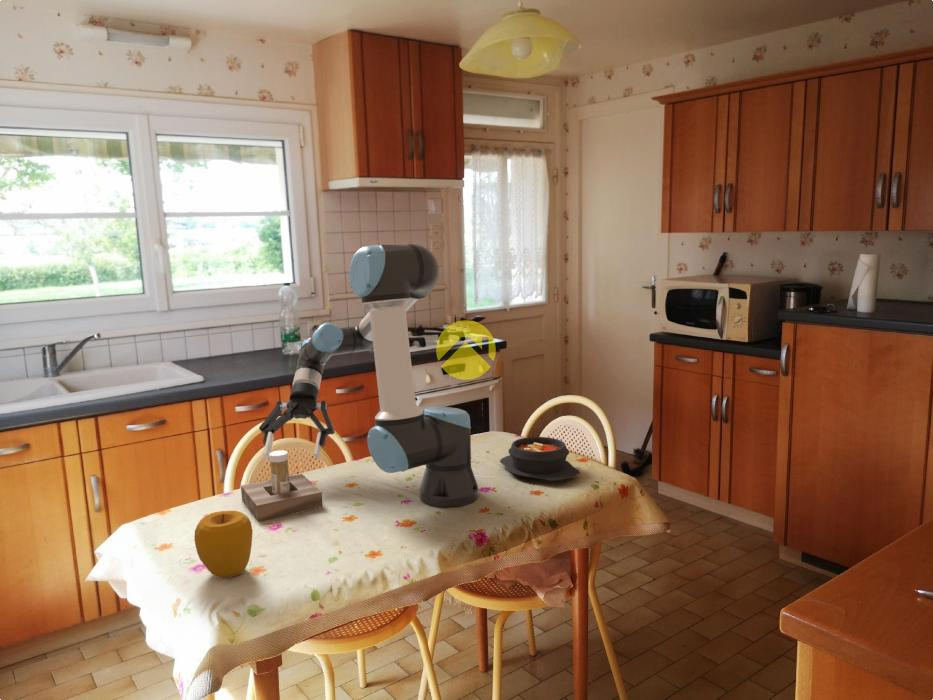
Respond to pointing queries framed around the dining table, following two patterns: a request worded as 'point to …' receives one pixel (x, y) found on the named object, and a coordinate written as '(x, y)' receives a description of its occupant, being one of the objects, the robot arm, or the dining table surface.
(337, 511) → the dining table surface
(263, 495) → the frame
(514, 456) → the casserole
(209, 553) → the apple
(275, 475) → the sprinkles bottle
